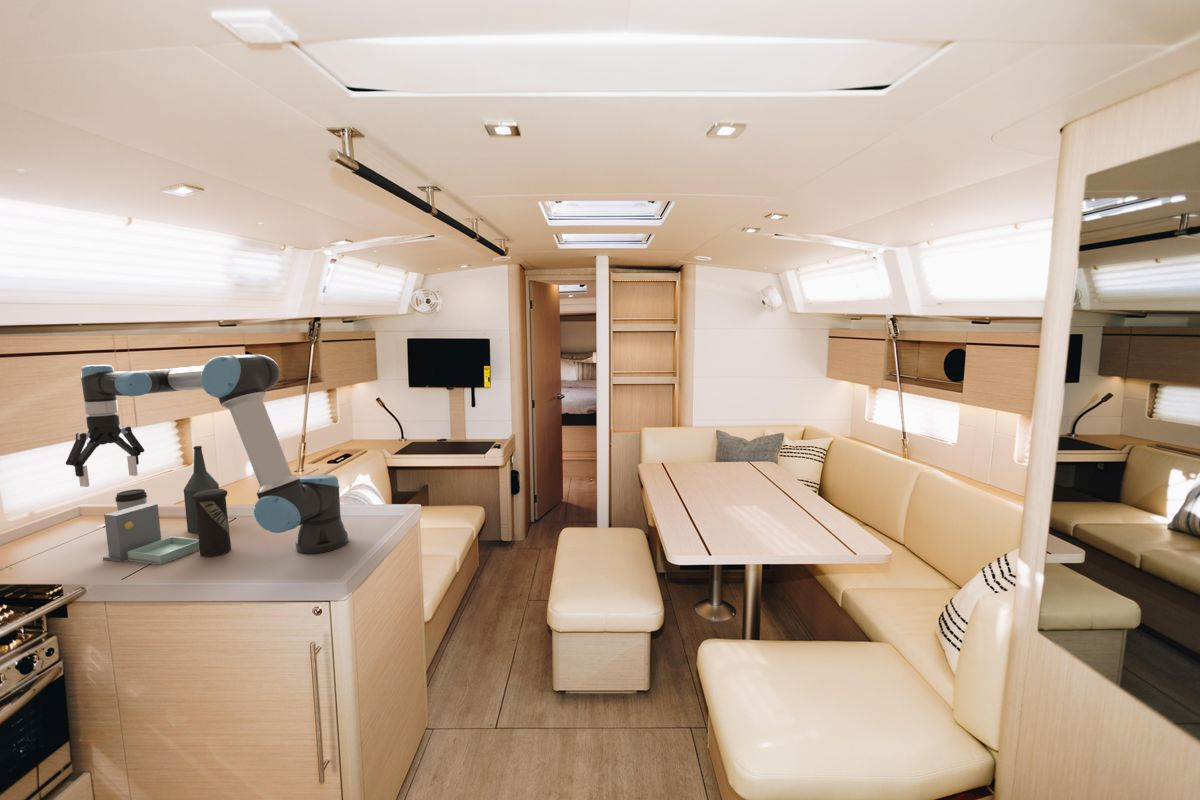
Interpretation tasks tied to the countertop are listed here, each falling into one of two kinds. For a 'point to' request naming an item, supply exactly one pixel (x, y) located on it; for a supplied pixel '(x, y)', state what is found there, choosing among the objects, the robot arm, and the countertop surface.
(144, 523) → the box
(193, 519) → the bottle
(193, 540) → the tray
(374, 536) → the countertop surface
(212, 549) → the container
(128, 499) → the coffee cup
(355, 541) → the countertop surface
